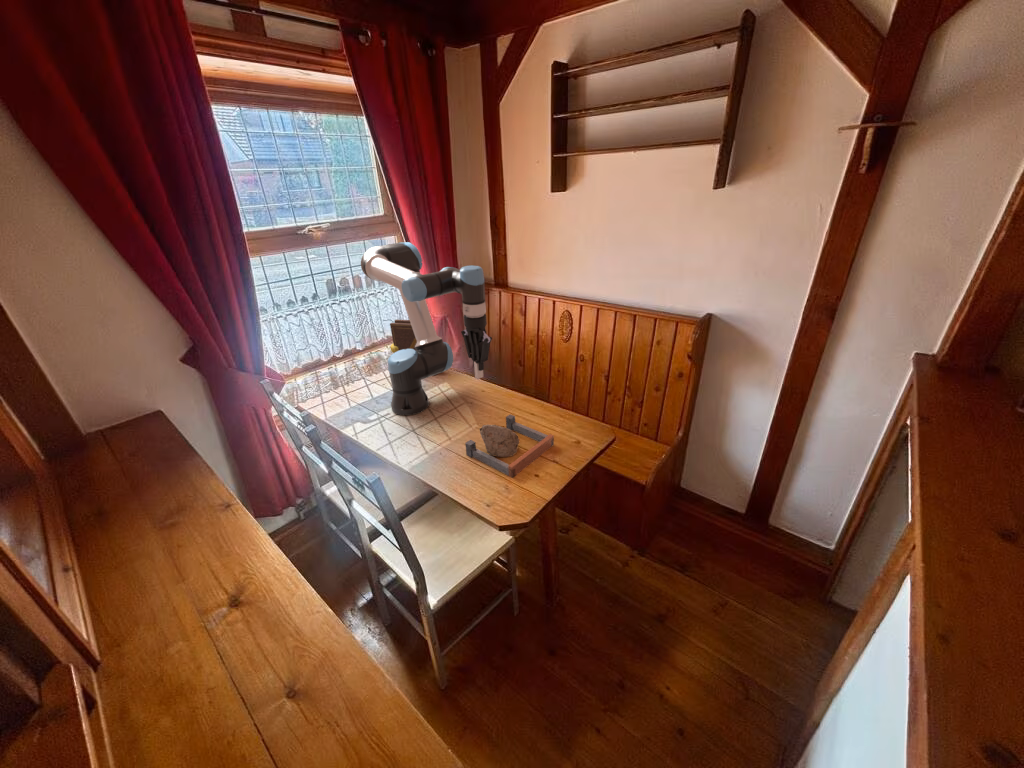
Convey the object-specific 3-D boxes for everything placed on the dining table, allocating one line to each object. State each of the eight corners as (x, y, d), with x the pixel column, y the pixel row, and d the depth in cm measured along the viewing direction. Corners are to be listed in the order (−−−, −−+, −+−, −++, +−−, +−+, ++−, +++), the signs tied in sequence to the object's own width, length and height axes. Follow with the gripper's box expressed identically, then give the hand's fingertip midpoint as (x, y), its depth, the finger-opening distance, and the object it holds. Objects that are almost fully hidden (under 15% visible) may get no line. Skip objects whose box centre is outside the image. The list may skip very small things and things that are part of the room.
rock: (517, 423, 148) (522, 428, 140) (514, 452, 149) (519, 458, 141) (478, 420, 145) (481, 425, 137) (475, 450, 146) (478, 456, 138)
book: (441, 369, 206) (435, 320, 195) (434, 377, 199) (427, 326, 188) (400, 366, 211) (391, 318, 200) (392, 374, 204) (382, 324, 193)
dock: (466, 455, 143) (465, 442, 141) (510, 425, 158) (510, 414, 156) (511, 478, 131) (510, 465, 129) (554, 444, 147) (554, 432, 144)
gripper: (453, 313, 142) (459, 375, 153) (480, 321, 134) (484, 386, 145) (469, 307, 147) (474, 368, 158) (496, 315, 139) (499, 378, 150)
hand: (479, 377), depth 152 cm, fingers closed
